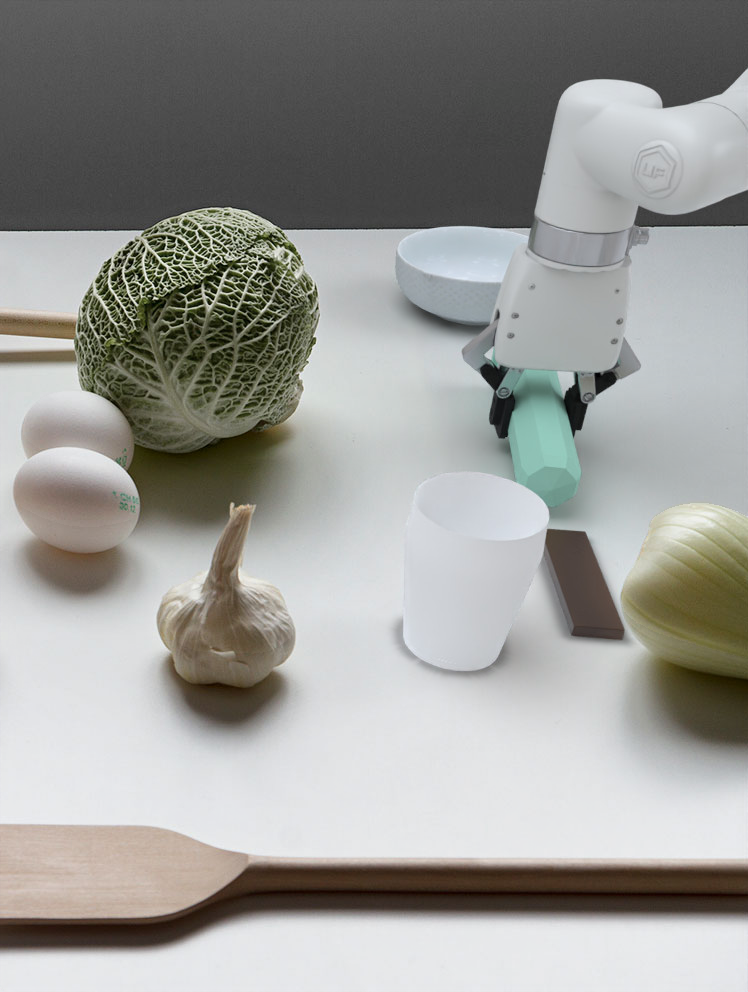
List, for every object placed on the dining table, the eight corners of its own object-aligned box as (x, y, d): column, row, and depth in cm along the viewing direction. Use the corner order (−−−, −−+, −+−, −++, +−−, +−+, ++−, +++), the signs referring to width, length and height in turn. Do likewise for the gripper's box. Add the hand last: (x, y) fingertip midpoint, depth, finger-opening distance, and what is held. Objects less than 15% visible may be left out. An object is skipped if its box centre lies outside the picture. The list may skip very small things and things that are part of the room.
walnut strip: (582, 543, 104) (585, 530, 104) (621, 643, 93) (625, 630, 93) (536, 539, 105) (540, 527, 104) (570, 639, 94) (574, 625, 93)
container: (583, 451, 102) (549, 317, 122) (504, 468, 104) (484, 334, 124) (597, 512, 104) (562, 371, 125) (520, 527, 107) (498, 386, 127)
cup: (401, 594, 99) (427, 459, 92) (525, 627, 95) (561, 488, 89) (372, 662, 92) (397, 521, 85) (504, 700, 88) (541, 555, 82)
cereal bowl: (481, 273, 152) (493, 215, 148) (582, 329, 138) (597, 267, 135) (357, 295, 147) (366, 236, 143) (449, 355, 133) (462, 291, 130)
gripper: (675, 227, 108) (622, 419, 117) (464, 218, 110) (428, 407, 120) (702, 261, 101) (643, 461, 111) (477, 251, 104) (438, 447, 114)
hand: (532, 431), depth 115 cm, fingers closed on container, 4 cm apart
